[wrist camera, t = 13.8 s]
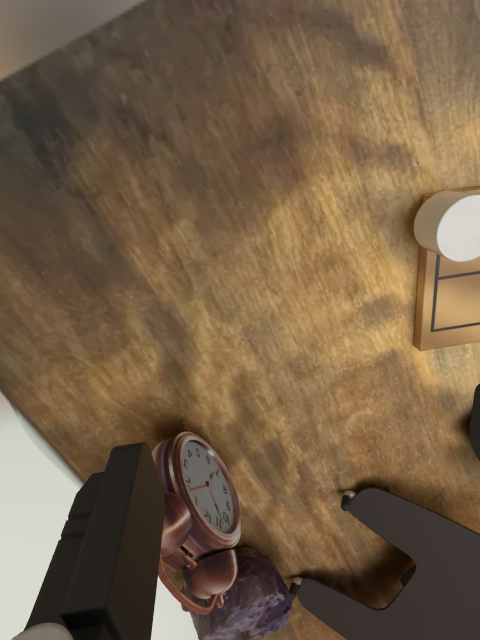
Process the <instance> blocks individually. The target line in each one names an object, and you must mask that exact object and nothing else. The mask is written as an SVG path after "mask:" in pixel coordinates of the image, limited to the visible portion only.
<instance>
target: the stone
mask: <svg viewBox="0 0 480 640" xmlns="http://www.w3.org/2000/svg"><path fill="white" fill-rule="evenodd" d="M414 234H415V238H416V240H417V242H418V243H419V244H420V245H421V246H422V247H423V248H425V249H426V250H429V251H431V252H433V253H435V254H438V255H440V256H442V257H445V258H447V259H449V260H452V261H456V262H465V261H470V260H473V259H475V258H477V257H479V256H480V195H479V194H472V193H466V192H459V191H452V190H448V191H442V192H439V193H437V194H435V195H433V196H432V197H430V198H429V199H428V200H426V201H425V202H424V204H423V205H422V206H421V207H420V209H419V211H418V213H417V215H416V217H415V221H414Z"/></svg>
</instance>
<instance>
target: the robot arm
mask: <svg viewBox="0 0 480 640" xmlns="http://www.w3.org/2000/svg"><path fill="white" fill-rule="evenodd" d="M469 435H470V442H471V445H472V448H473V450H474V452H475V454H476V456H477V457H478V459H479V460H480V384H479V385H477V387H476V389H475V393H474V401H473V409H472V417H471V425H470V434H469ZM164 516H165V500H164V492H163V488H162V484H161V481H160V478H159V475H158V472H157V469H156V466H155V462H154V459H153V456H152V453H151V450H150V447H149V445H148V443H147V442H139V443H133V444H128V445H122V446H116V447H114V448H113V449H112V451H111V454H110V457H109V460H108V463H107V466H106V470H105V472H100V473H94V474H92V475H91V476H90V478H89V479H88V480H87V481H86V483H85V484H84V485H83V486H82V488H81V489H80V490H79V491H78V493H77V494H76V497H75V499H74V502H73V505H72V507H71V510H70V512H69V515H68V521H66V523H65V526H64V528H63V531H62V534H61V540H59V541H58V545H57V547H56V550H55V552H54V555H53V557H52V560H51V563H50V565H49V568H48V570H47V573H46V576H45V578H44V581H43V584H42V587H41V589H40V592H39V594H38V597H37V600H36V602H35V605H34V608H33V610H32V613H31V616H30V618H29V620H28V623H27V625H26V627H25V629H24V631H23V632H21V633H20V634H18V635H17V636H15V637H14V638H13V639H11V640H150V639H151V631H152V623H153V614H154V605H155V596H156V587H157V578H158V570H159V561H160V552H161V543H162V534H163V525H164Z"/></svg>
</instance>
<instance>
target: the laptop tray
mask: <svg viewBox="0 0 480 640" xmlns="http://www.w3.org/2000/svg"><path fill="white" fill-rule="evenodd" d="M350 498H351V499H352V500H351V499H350ZM350 500H351V501H350ZM341 508H342V510H344V511H349V512H350V513H351V514H352V515H353V516H354V517H356V518H357V519H358V520H359V521H361V522H362V523H363V524H365V525H366V526H367V527H369V528H370V529H371V530H373V531H374V532H375V533H377V534H378V535H379V536H381V537H382V538H384V539H385V540H387V541H388V542H389V543H391V544H392V545H394V546H395V547H397V548H399V549H400V550H402V551H403V552H405V553H406V554H407V555H409V556H410V557H411V558H412V559H413V560H414V562H415V564H416V565H414V566H413V567H411V568H410V569H408V570H406V571H405V572H404V573H403V574H402V575H401V577H400V581H401V584H402V585H403V588H402V589H401V590H400V592H399V593H398V594H397V596H396V597H395V598H394V599H393V601H392V602H391V603H390V604H389V605H388V606H387V607H385V608H381V609H377V608H373V607H370V606H368V605H366V604H364V603H362V602H360V601H358V600H357V599H355V598H353V597H351V596H349V595H347V594H345V593H343V592H341V591H339V590H337V589H335V588H333V587H330V586H328V585H326V584H324V583H322V582H319V581H317V580H315V579H313V578H310V577H305V578H304V579H303V578H301V577H295V578H294V579H293V580H292V583H291V586H290V590H289V591H290V593H291V594H292V596H293V599H295V597H296V593H297V588H298V584H300V587H299V592H298V598H299V601H300V603H301V604H302V605H303V607H304V608H306V609H307V610H308V611H309V612H311V613H312V614H313V615H315V616H316V617H317V618H318V619H320V620H321V621H322V622H324V623H325V624H326V625H328V626H329V627H330V628H332V629H333V630H335V631H336V632H337V633H339V634H340V635H342V636H343V637H344V638H346V639H347V640H480V534H479V533H477V532H475V531H473V530H471V529H469V528H467V527H465V526H463V525H461V524H459V523H457V522H455V521H453V520H451V519H449V518H447V517H445V516H442V515H440V514H438V513H436V512H434V511H432V510H430V509H427V508H425V507H423V506H421V505H419V504H416V503H414V502H412V501H410V500H407V499H405V498H403V497H400V496H398V495H395V494H393V493H391V492H390V487H389V486H384V487H381V486H375V487H368V488H364V489H362V490H361V491H359V492H358V493H355V492H353V491H350V490H347V491H345V492H344V494H343V497H342V503H341ZM405 580H406V581H405Z"/></svg>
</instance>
